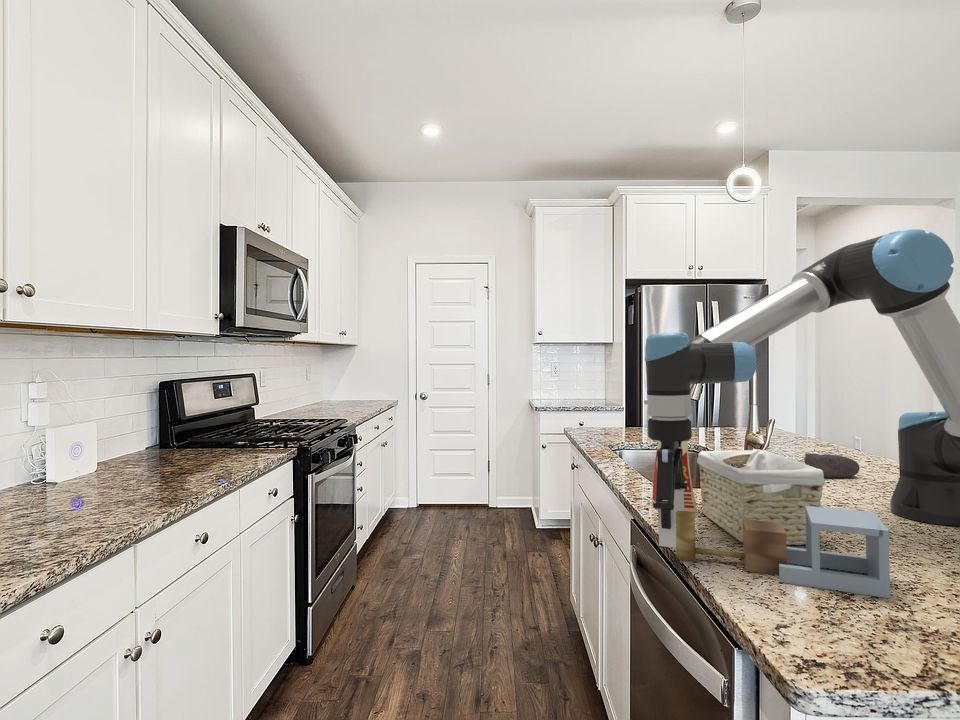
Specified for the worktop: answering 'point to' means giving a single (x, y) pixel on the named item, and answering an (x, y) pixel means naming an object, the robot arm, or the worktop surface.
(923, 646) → the worktop surface
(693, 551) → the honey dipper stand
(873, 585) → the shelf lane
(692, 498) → the milk carton
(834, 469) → the perforated stone tool
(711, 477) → the storage basket
